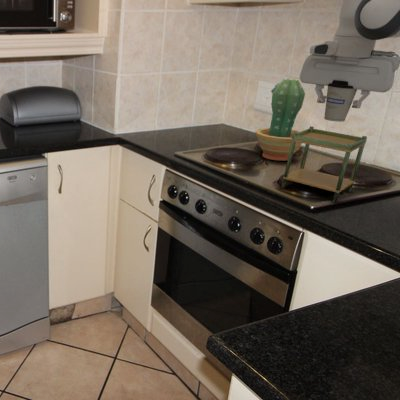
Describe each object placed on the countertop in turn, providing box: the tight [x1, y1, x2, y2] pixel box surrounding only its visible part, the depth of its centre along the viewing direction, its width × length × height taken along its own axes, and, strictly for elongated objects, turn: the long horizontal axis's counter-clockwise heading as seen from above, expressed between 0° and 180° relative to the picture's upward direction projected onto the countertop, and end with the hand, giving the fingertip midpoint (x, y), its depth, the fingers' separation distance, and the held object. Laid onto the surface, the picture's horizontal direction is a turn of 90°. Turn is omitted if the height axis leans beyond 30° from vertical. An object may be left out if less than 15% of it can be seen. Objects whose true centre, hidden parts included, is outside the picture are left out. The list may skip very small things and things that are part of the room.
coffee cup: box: [323, 80, 358, 123], centre depth 121 cm, size 7×7×10 cm
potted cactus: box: [255, 78, 306, 162], centre depth 154 cm, size 15×15×25 cm
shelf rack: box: [280, 125, 368, 204], centre depth 128 cm, size 14×12×16 cm
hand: (337, 105), depth 122 cm, fingers closed on coffee cup, 7 cm apart
